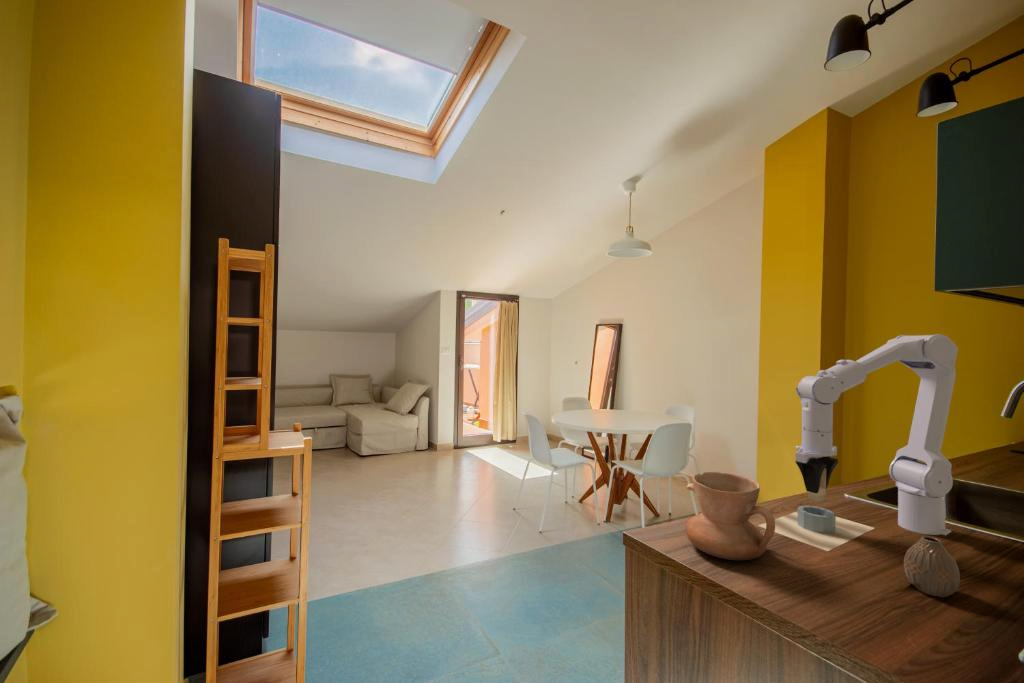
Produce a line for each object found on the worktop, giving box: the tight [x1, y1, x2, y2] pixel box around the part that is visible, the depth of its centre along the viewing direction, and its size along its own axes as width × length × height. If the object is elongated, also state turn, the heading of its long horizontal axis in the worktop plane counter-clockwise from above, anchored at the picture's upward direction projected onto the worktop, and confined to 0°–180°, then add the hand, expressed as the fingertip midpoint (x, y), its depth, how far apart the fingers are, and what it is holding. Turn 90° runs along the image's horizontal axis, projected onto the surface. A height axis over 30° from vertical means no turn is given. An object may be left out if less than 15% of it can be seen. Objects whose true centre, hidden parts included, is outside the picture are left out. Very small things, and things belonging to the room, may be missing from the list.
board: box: [757, 510, 876, 552], centre depth 99 cm, size 22×14×1 cm, turn 122°
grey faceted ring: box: [797, 505, 837, 533], centre depth 99 cm, size 7×7×4 cm
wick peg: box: [807, 468, 827, 504], centre depth 99 cm, size 3×3×8 cm
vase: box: [903, 535, 961, 598], centre depth 75 cm, size 7×7×9 cm
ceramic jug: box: [685, 471, 775, 561], centre depth 88 cm, size 18×14×14 cm
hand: (816, 490), depth 99 cm, fingers closed on wick peg, 3 cm apart
